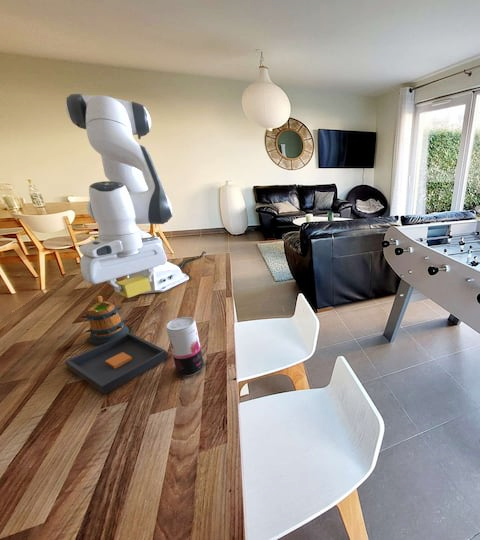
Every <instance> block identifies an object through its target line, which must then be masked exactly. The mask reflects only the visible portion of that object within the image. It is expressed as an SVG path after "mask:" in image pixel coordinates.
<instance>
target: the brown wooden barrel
mask: <svg viewBox="0 0 480 540" xmlns="http://www.w3.org/2000/svg"><path fill="white" fill-rule="evenodd" d="M93 299H94V301H95V303H93V304H92V305H91V307H89V308H88V309H87V313H86V315H84V316H81V319H87V320H89V326H90V327H89V329H87V330H84V332H85V333H90V334H89V341H90V343H91V344H93V345H97V346H100V345H102V344H104V343H107V342H109V341H111V340H113V339H115V338H118V337H120V336H122V335H124V334H127V333H129V332H130V330H129V327H128V326H127V325H126V324H125V323H126V322H127V321H128V320H127V319H122V318H121V317H120V315H119V313H118V312H119V310H120V309H122V308H123V307H122V306H119V307H117V306H115V304H114V303H112V302H109V301H106V300H103V296H102V295H97V296H94V298H93Z"/></svg>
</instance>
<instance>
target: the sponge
mask: <svg viewBox="0 0 480 540" xmlns="http://www.w3.org/2000/svg"><path fill="white" fill-rule="evenodd" d="M115 283H116V284H117V285H122V286H123V290H124V291H122V292H119V293H118V294H119V295H120V296H122V297H125V298H127V299H129V298H132V297H135V296H138V295H142V294H141V293H144V292H147V291H150V290H151V287H150V283H149V278H146V277H144V276H141V275H139V276H136V277H132V278H126V279H123V280H119V281H116V282H115Z"/></svg>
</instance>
